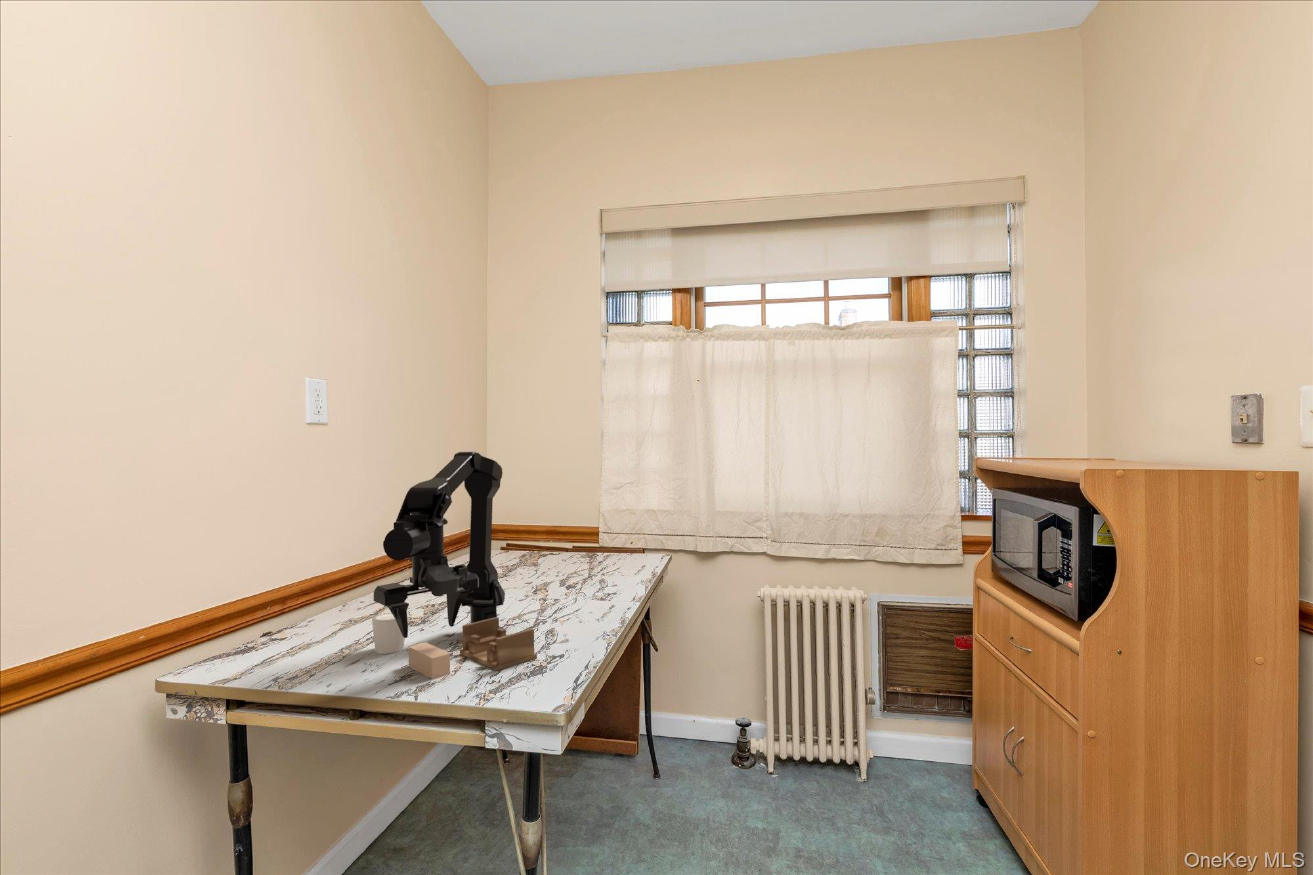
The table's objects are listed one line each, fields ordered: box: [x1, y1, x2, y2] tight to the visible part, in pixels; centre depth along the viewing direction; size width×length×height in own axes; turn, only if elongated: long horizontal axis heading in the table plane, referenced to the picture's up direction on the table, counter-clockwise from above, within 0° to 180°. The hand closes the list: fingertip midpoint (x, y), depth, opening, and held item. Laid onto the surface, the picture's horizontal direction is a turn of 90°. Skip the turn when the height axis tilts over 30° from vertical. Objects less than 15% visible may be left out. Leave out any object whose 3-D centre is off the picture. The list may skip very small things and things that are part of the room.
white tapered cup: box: [371, 612, 406, 655], centre depth 128 cm, size 7×7×7 cm
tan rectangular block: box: [408, 642, 451, 680], centre depth 115 cm, size 10×4×4 cm, turn 46°
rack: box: [459, 616, 538, 672], centre depth 123 cm, size 14×9×6 cm, turn 47°
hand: (428, 631), depth 116 cm, fingers open, 9 cm apart
